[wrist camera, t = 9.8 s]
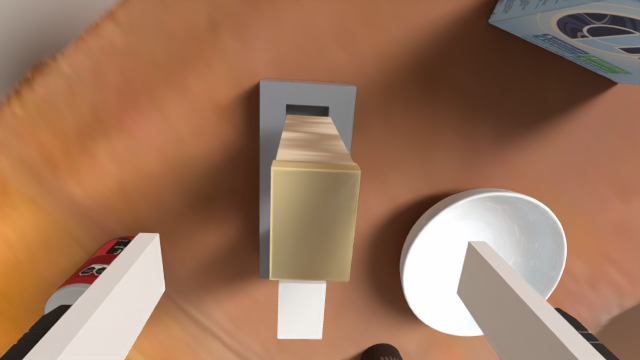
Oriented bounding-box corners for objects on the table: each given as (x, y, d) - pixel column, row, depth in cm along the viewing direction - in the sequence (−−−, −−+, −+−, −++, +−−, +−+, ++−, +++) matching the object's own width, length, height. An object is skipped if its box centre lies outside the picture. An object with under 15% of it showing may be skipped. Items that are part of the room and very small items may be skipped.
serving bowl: (557, 244, 49) (596, 273, 43) (441, 324, 53) (461, 361, 47) (483, 142, 43) (516, 156, 37) (358, 240, 47) (368, 269, 41)
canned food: (172, 264, 47) (136, 322, 36) (129, 291, 48) (82, 356, 38) (133, 223, 44) (82, 274, 34) (88, 253, 46) (26, 311, 35)
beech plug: (283, 177, 33) (269, 279, 18) (285, 113, 31) (271, 167, 16) (326, 179, 33) (348, 281, 18) (331, 116, 31) (360, 170, 16)
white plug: (285, 245, 45) (277, 338, 30) (286, 205, 43) (278, 283, 28) (314, 246, 46) (321, 338, 31) (317, 206, 44) (326, 283, 29)
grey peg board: (263, 256, 47) (259, 278, 42) (264, 77, 39) (259, 80, 34) (334, 257, 48) (338, 279, 43) (350, 83, 40) (356, 86, 35)
